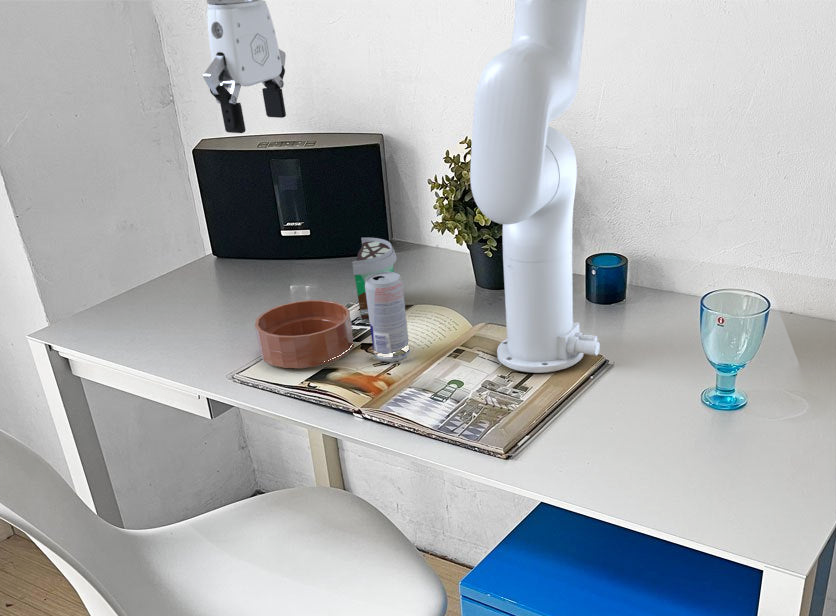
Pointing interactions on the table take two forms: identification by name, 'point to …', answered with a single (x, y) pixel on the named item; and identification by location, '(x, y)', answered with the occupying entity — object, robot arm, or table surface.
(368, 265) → the food container
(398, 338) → the energy drink
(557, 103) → the robot arm
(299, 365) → the bowl
